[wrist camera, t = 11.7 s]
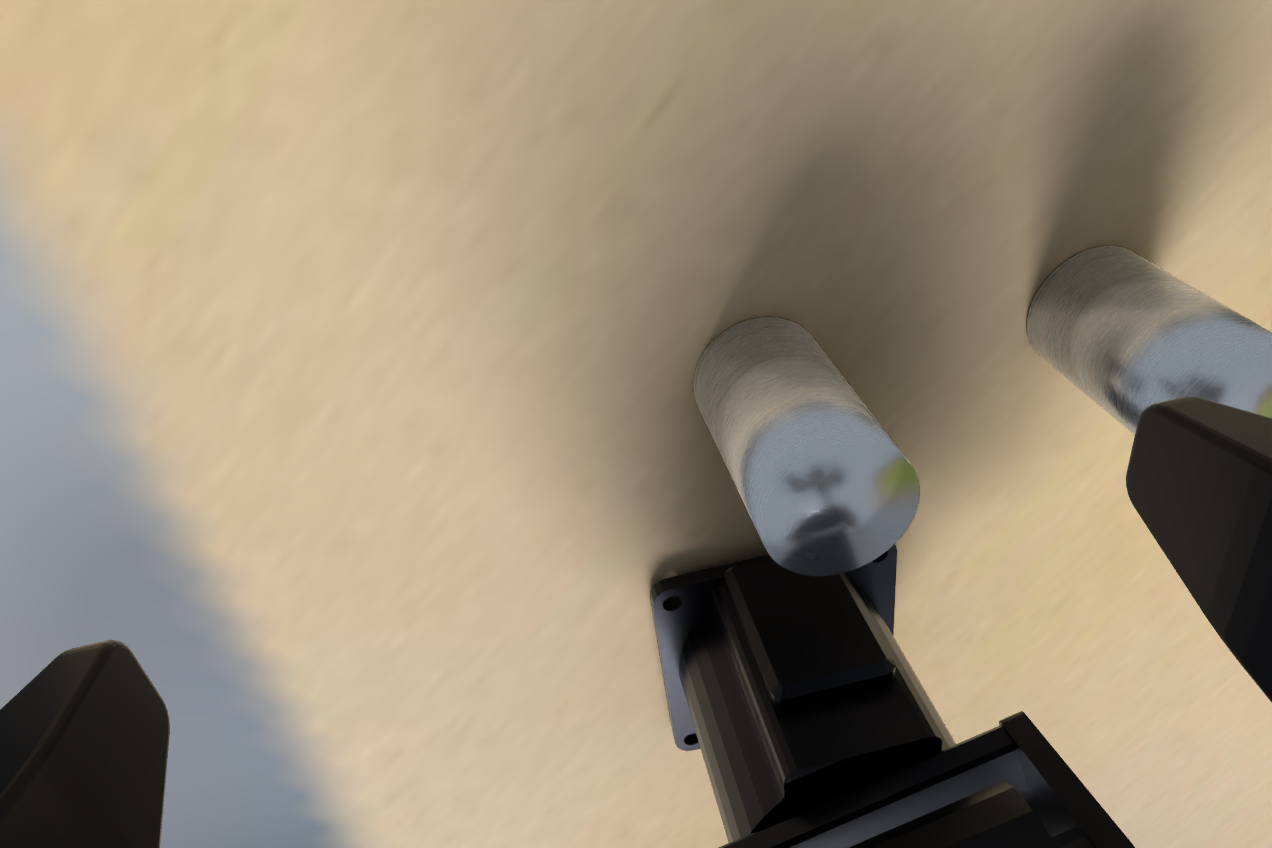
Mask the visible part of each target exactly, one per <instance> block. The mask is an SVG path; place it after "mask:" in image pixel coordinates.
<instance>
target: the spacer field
mask: <svg viewBox="0 0 1272 848" xmlns="http://www.w3.org/2000/svg"><path fill="white" fill-rule="evenodd" d="M1027 334H1028V338H1029V341H1030V343H1031V346H1032V347H1033V348H1034V350H1035V351H1036V352H1037V353H1038V354H1039V355H1040V356H1041V357H1042V358H1044V359H1045V360H1046V361H1047V362H1048V363H1050V364H1051V365H1052V366H1053V367H1054V368H1055V369H1057V370H1058V371H1059V372H1060V373H1061V374H1063V375H1064V376H1065V377H1066V378H1067V379H1069V380H1070V381H1071V382H1072V383H1073V384H1074V385H1076V386H1077V387H1078V388H1079V389H1080V390H1082V391H1083V392H1084V393H1085V394H1086V395H1088V396H1089V397H1090V398H1091V399H1092V400H1093V401H1095V402H1096V403H1097V404H1098V405H1099V406H1101V407H1102V408H1103V409H1104V410H1105V411H1107V412H1108V413H1109V414H1110V415H1111V416H1112V417H1114V418H1115V419H1116V420H1117V421H1118V422H1120V423H1121V424H1122V425H1123V426H1124V427H1126V428H1127V429H1128V430H1129V431H1130V432H1131V433H1133V434H1134V435H1135V433H1136V429H1137V424H1138V420H1139V417H1140V415H1141V414H1142V412H1143V411H1144V410H1145V409H1146V408H1147V407H1149V406H1150V405H1152V404H1156V403H1160V402H1164V401H1169V400H1173V399H1178V398H1182V397H1199V398H1203V399H1206V400H1210V401H1213V402H1217V403H1220V404H1224V405H1227V406H1231V407H1234V408H1238V409H1241V410H1245V411H1248V412H1252V413H1255V414H1259V415H1262V416H1266V417H1269V418H1272V333H1271V332H1270V331H1268V330H1266V329H1265V328H1263V327H1261V326H1259V325H1258V324H1256V323H1254V322H1253V321H1251V320H1249V319H1247V318H1246V317H1244V316H1242V315H1240V314H1239V313H1237V312H1235V311H1234V310H1232V309H1230V308H1228V307H1227V306H1225V305H1223V304H1222V303H1220V302H1218V301H1216V300H1215V299H1213V298H1211V297H1210V296H1208V295H1206V294H1204V293H1203V292H1201V291H1199V290H1198V289H1196V288H1194V287H1192V286H1191V285H1189V284H1187V283H1186V282H1184V281H1182V280H1180V279H1179V278H1177V277H1175V276H1174V275H1172V274H1170V273H1168V272H1167V271H1165V270H1163V269H1162V268H1160V267H1158V266H1156V265H1155V264H1153V263H1151V262H1150V261H1148V260H1146V259H1144V258H1143V257H1141V256H1139V255H1138V254H1136V253H1134V252H1132V251H1130V250H1129V249H1126V248H1123V247H1120V246H1100V247H1095V248H1091V249H1088V250H1086V251H1083V252H1081V253H1079V254H1077V255H1075V256H1073V257H1071V258H1070V259H1068V260H1067V261H1065V262H1064V263H1063V264H1061V265H1060V266H1059V267H1058V268H1057V269H1055V270H1054V271H1053V272H1052V273H1051V274H1050V275H1049V277H1048V278H1047V279H1046V280H1045V281H1044V283H1043V284H1042V285H1041V287H1040V288H1039V290H1038V292H1037V293H1036V295H1035V297H1034V299H1033V301H1032V303H1031V306H1030V309H1029V313H1028V318H1027ZM693 391H694V396H695V400H696V403H697V405H698V407H699V410H700V412H701V414H702V416H703V418H704V420H705V422H706V424H707V426H708V429H709V431H710V433H711V435H712V437H713V439H714V441H715V443H716V445H717V448H718V450H719V452H720V454H721V456H722V458H723V460H724V462H725V464H726V467H727V469H728V471H729V473H730V475H731V477H732V479H733V481H734V483H735V486H736V488H737V490H738V492H739V494H740V496H741V498H742V500H743V502H744V504H745V507H746V509H747V511H748V513H749V515H750V517H751V519H752V521H753V523H754V526H755V528H756V530H757V532H758V534H759V536H760V538H761V540H762V542H763V545H764V547H765V549H766V550H767V552H768V554H769V555H770V556H771V557H772V559H773V560H774V561H775V562H777V563H778V564H779V565H780V566H782V567H784V568H785V569H787V570H790V571H792V572H794V573H798V574H802V575H808V576H829V575H836V574H841V573H845V572H848V571H851V570H854V569H857V568H859V567H861V566H863V565H866V564H868V563H870V562H871V561H873V560H875V559H876V558H878V557H879V556H881V555H882V554H883V553H885V552H886V551H887V550H889V549H890V548H891V547H892V546H893V545H894V544H895V543H896V542H897V541H898V540H899V539H900V538H901V537H902V535H903V534H904V533H905V531H906V530H907V529H908V527H909V525H910V524H911V522H912V520H913V518H914V516H915V513H916V510H917V507H918V504H919V497H920V486H919V481H918V477H917V475H916V472H915V470H914V468H913V467H912V465H911V464H910V462H909V461H908V460H907V459H906V457H905V456H904V455H903V453H902V452H901V451H900V450H899V448H898V447H897V446H896V444H895V443H894V442H893V440H892V439H891V438H890V437H889V435H888V434H887V433H886V431H885V430H884V429H883V427H882V426H881V425H880V424H879V422H878V421H877V420H876V418H875V417H874V416H873V415H872V413H871V412H870V411H869V409H868V408H867V407H866V405H865V404H864V403H863V402H862V400H861V399H860V398H859V396H858V395H857V394H856V393H855V391H854V390H853V389H852V387H851V386H850V385H849V383H848V382H847V381H846V380H845V378H844V377H843V376H842V374H841V373H840V372H839V371H838V369H837V368H836V367H835V365H834V364H833V363H832V361H831V360H830V359H829V358H828V356H827V355H826V354H825V352H824V351H823V350H822V349H821V347H820V346H819V345H818V343H817V342H816V341H815V339H814V338H813V337H812V336H811V335H810V333H809V332H808V331H807V330H805V329H804V328H803V327H802V326H800V325H798V324H797V323H795V322H793V321H790V320H787V319H783V318H778V317H759V318H753V319H750V320H746V321H743V322H741V323H738V324H736V325H734V326H732V327H730V328H729V329H727V330H726V331H724V332H723V333H721V334H720V335H719V336H718V337H717V338H715V339H714V340H713V341H712V343H711V344H710V345H709V346H708V347H707V349H706V350H705V351H704V353H703V354H702V356H701V358H700V360H699V362H698V364H697V367H696V370H695V374H694V381H693Z"/></svg>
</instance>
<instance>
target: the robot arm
mask: <svg viewBox="0 0 1272 848" xmlns="http://www.w3.org/2000/svg"><path fill="white" fill-rule="evenodd" d="M1126 487H1127V491H1128V495H1129V497H1130V500H1131V502H1132V504H1133V506H1134V507H1135V509H1136V510H1137V512H1138V513H1139V515H1140V516H1141V518H1142V520H1143V521H1144V523H1145V524H1146V526H1147V527H1148V529H1149V530H1150V532H1151V533H1152V535H1153V536H1154V538H1155V539H1156V541H1157V543H1158V544H1159V546H1160V547H1161V549H1162V550H1163V552H1164V553H1165V555H1166V556H1167V558H1168V559H1169V561H1170V562H1171V564H1172V565H1173V567H1174V569H1175V570H1176V572H1177V573H1178V575H1179V576H1180V578H1181V579H1182V581H1183V582H1184V584H1185V585H1186V587H1187V588H1188V590H1189V592H1190V593H1191V595H1192V596H1193V598H1194V599H1195V601H1196V602H1197V604H1198V605H1199V607H1200V608H1201V610H1202V611H1203V613H1204V614H1205V616H1206V618H1207V619H1208V620H1209V622H1210V623H1211V625H1212V626H1213V628H1214V629H1215V630H1216V632H1217V633H1218V635H1219V636H1220V638H1221V639H1222V640H1223V642H1224V643H1225V644H1226V646H1227V647H1228V648H1229V650H1230V651H1231V652H1232V653H1233V655H1234V656H1235V657H1236V659H1237V660H1238V661H1239V663H1240V664H1241V665H1242V666H1243V668H1244V669H1245V670H1246V671H1247V673H1248V674H1249V675H1250V676H1251V677H1252V679H1253V680H1254V681H1255V682H1256V684H1257V685H1258V686H1259V687H1260V689H1261V690H1262V691H1263V692H1264V694H1265V695H1266V696H1267V697H1268V699H1269V700H1270V701H1271V702H1272V418H1269V417H1266V416H1262V415H1259V414H1255V413H1252V412H1248V411H1245V410H1241V409H1238V408H1234V407H1231V406H1227V405H1224V404H1220V403H1217V402H1213V401H1210V400H1206V399H1203V398H1199V397H1182V398H1178V399H1173V400H1169V401H1164V402H1160V403H1156V404H1152V405H1150V406H1149V407H1147V408H1146V409H1145V410H1144V411H1143V412H1142V414H1141V415H1140V417H1139V420H1138V424H1137V429H1136V433H1135V438H1134V442H1133V447H1132V451H1131V456H1130V460H1129V465H1128V469H1127V474H1126ZM896 563H897V549H896V545H895V544H894V545H893V546H892V547H891V548H890V549H889V550H887V551H886V552H885V553H883V554H882V555H881V556H879V557H878V558H876V559H875V560H873V561H871V562H870V563H868V564H866V565H863V566H861V567H859V568H857V569H854V570H851V571H848V572H845V573H841V574H836V575H829V576H808V575H802V574H798V573H794V572H792V571H790V570H787V569H785V568H784V567H782V566H780V565H779V564H778V563H777V562H775V561H774V560H773V559H772V557H771V556H770V555H767V556H763V557H758V558H754V559H750V560H745V561H741V562H737V563H732V564H728V565H724V566H720V567H715V568H711V569H707V570H702V571H698V572H694V573H689V574H685V575H681V576H676V577H672V578H668V579H665V580H662V581H660V582H658V583H657V584H656V585H655V586H654V587H653V588H652V590H651V592H650V600H651V606H652V612H653V618H654V624H655V630H656V636H657V642H658V648H659V654H660V660H661V666H662V672H663V678H664V684H665V690H666V696H667V702H668V708H669V714H670V720H671V726H672V732H673V736H674V739H675V743H676V745H677V747H678V748H680V749H681V750H686V751H690V750H696V749H700V748H701V751H702V754H703V757H704V761H705V764H706V768H707V771H708V774H709V778H710V781H711V784H712V788H713V791H714V794H715V798H716V801H717V804H718V808H719V811H720V815H721V818H722V821H723V825H724V828H725V831H726V835H727V838H728V841H729V843H728V844H726V845H724V846H721V847H719V848H1135V847H1134V846H1133V844H1132V843H1131V842H1130V841H1129V839H1128V838H1127V837H1126V836H1125V835H1124V833H1123V832H1122V831H1121V830H1120V828H1119V827H1118V826H1117V825H1116V824H1115V822H1114V821H1113V820H1112V819H1111V818H1110V816H1109V815H1108V814H1107V813H1106V811H1105V810H1104V809H1103V808H1102V807H1101V805H1100V804H1099V803H1098V802H1097V801H1096V799H1095V798H1094V797H1093V796H1092V794H1091V793H1090V792H1089V791H1088V790H1087V788H1086V787H1085V786H1084V785H1083V784H1082V782H1081V781H1080V780H1079V779H1078V777H1077V776H1076V775H1075V774H1074V773H1073V771H1072V770H1071V769H1070V768H1069V767H1068V765H1067V764H1066V763H1065V762H1064V760H1063V759H1062V758H1061V757H1060V756H1059V754H1058V753H1057V752H1056V751H1055V750H1054V748H1053V747H1052V746H1051V745H1050V743H1049V742H1048V741H1047V740H1046V739H1045V737H1044V736H1043V735H1042V734H1041V733H1040V731H1039V730H1038V729H1037V728H1036V726H1035V725H1034V724H1033V723H1032V722H1031V720H1030V719H1029V718H1028V717H1027V716H1026V714H1025V713H1024V712H1023V711H1021V712H1019V713H1016V714H1014V715H1012V716H1009V717H1007V718H1005V719H1003V720H1000V721H999V724H1000V726H998V727H995V728H993V729H991V730H989V731H986V732H984V733H982V734H979V735H977V736H975V737H972V738H970V739H968V740H966V741H963V742H961V743H959V744H956V743H955V741H954V740H953V738H952V736H951V735H950V733H949V731H948V729H947V728H946V726H945V724H944V723H943V721H942V719H941V717H940V716H939V714H938V712H937V711H936V709H935V707H934V705H933V704H932V702H931V700H930V699H929V697H928V695H927V693H926V692H925V690H924V688H923V687H922V685H921V683H920V681H919V680H918V678H917V676H916V675H915V673H914V671H913V669H912V668H911V666H910V664H909V663H908V661H907V659H906V657H905V656H904V654H903V652H902V651H901V649H900V647H899V645H898V644H897V642H896V640H895V638H894V637H893V629H894V607H895V585H896ZM671 596H676V597H675V598H673V599H671V600H665V599H666V598H669V597H671ZM169 734H170V724H169V716H168V711H167V709H166V705H165V703H164V701H163V699H162V698H161V696H160V695H159V693H158V691H157V690H156V688H155V687H154V685H153V684H152V682H151V681H150V679H149V678H148V676H147V675H146V673H145V671H144V670H143V668H142V667H141V665H140V664H139V662H138V661H137V659H136V657H135V656H134V654H133V653H132V652H131V650H130V649H129V648H128V647H127V646H126V645H125V644H124V643H122V642H120V641H116V640H107V641H103V642H98V643H94V644H90V645H85V646H81V647H77V648H72V649H70V650H67V651H65V652H63V653H61V654H60V655H59V656H58V657H56V658H55V659H54V660H53V661H52V662H51V663H50V664H49V665H48V666H47V667H46V668H45V669H43V670H42V671H41V672H40V673H39V674H38V675H37V676H36V677H35V678H34V679H33V680H32V681H31V682H30V683H28V684H27V685H26V686H25V687H24V688H23V689H22V690H21V691H20V692H19V693H18V694H17V695H16V696H15V697H14V698H12V699H11V700H10V701H9V702H8V703H7V704H6V705H5V706H4V707H3V708H2V709H1V710H0V848H160V841H161V829H162V818H163V806H164V794H165V782H166V769H167V758H168V746H169Z"/></svg>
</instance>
